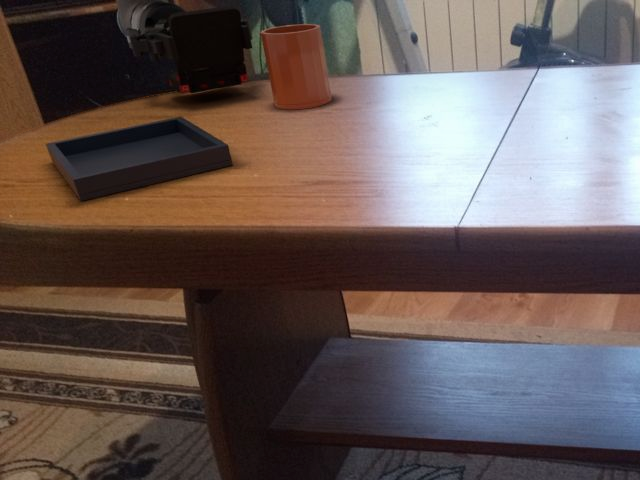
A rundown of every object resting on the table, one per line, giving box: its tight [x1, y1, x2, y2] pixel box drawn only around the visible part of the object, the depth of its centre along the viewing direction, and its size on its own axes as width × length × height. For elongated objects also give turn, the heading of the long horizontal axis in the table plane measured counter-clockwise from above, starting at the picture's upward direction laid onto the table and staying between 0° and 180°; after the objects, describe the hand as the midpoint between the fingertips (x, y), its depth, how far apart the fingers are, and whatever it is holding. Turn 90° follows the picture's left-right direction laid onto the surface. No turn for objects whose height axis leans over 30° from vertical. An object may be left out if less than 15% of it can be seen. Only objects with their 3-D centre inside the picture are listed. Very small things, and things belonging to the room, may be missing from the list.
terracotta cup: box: [260, 23, 333, 110], centre depth 94 cm, size 7×7×9 cm
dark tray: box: [45, 116, 233, 202], centre depth 77 cm, size 17×15×2 cm
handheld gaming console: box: [164, 5, 249, 94], centre depth 99 cm, size 9×12×10 cm
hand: (211, 43), depth 94 cm, fingers closed on handheld gaming console, 9 cm apart
